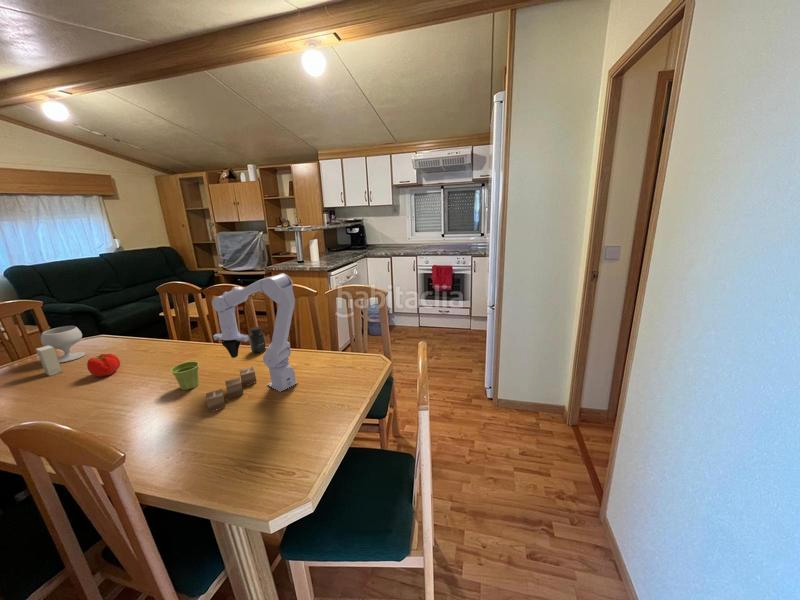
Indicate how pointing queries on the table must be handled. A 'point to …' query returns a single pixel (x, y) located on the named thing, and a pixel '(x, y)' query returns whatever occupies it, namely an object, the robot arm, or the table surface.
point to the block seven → (247, 376)
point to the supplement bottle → (257, 340)
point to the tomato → (103, 365)
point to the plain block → (234, 387)
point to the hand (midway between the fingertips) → (234, 356)
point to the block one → (215, 400)
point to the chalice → (63, 341)
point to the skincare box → (49, 360)
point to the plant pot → (186, 374)
